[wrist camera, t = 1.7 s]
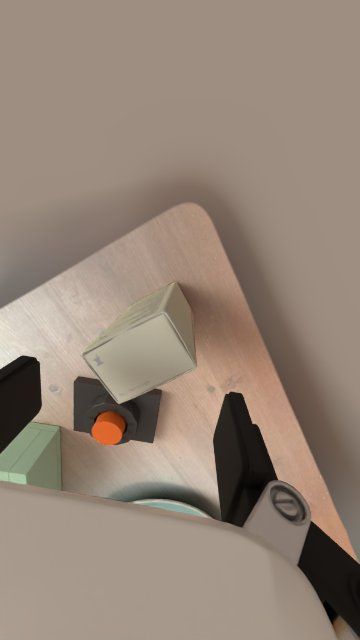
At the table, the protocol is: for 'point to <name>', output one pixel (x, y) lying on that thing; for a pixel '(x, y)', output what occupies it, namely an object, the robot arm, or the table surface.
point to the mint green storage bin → (33, 457)
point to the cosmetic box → (145, 345)
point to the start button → (109, 428)
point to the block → (115, 410)
